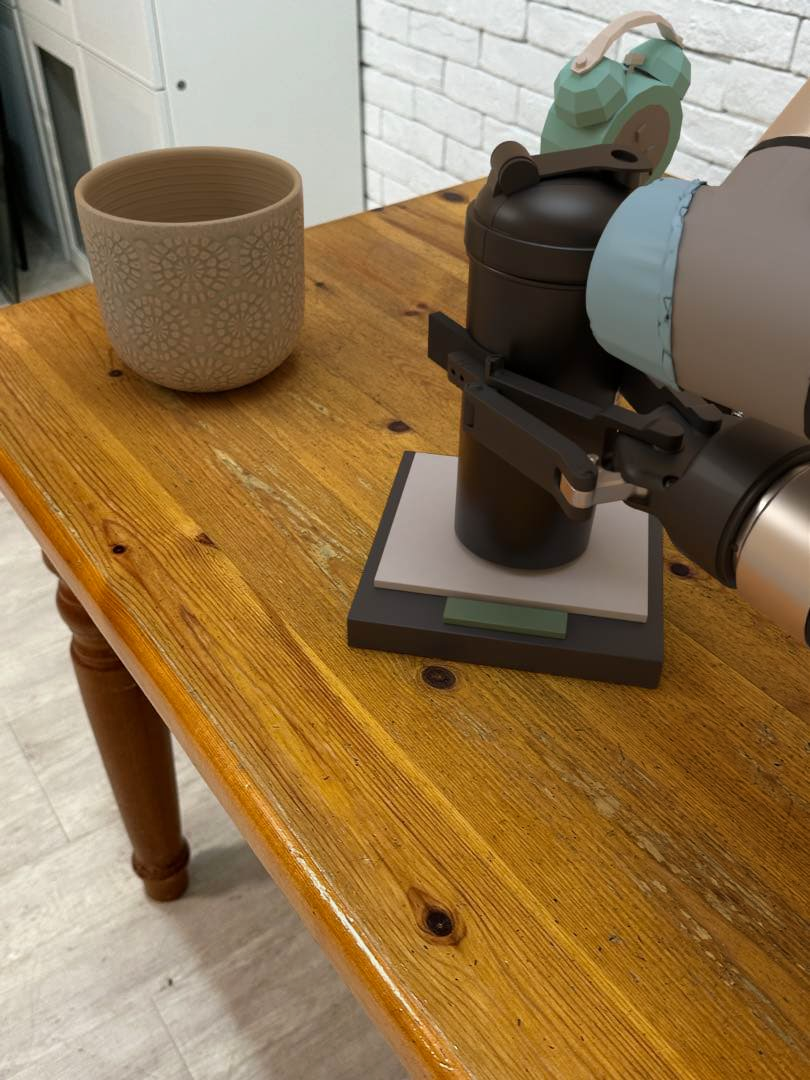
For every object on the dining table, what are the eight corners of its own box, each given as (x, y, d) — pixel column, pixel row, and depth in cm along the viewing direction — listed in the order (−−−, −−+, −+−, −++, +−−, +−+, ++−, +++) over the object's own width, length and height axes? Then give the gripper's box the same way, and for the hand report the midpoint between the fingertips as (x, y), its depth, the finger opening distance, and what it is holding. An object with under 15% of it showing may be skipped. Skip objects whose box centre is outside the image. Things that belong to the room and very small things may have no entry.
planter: (304, 416, 82) (293, 225, 72) (87, 415, 81) (47, 224, 72) (317, 318, 95) (309, 145, 85) (130, 317, 95) (101, 144, 85)
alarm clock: (621, 176, 125) (647, -10, 113) (684, 199, 119) (719, 6, 107) (517, 209, 116) (533, 12, 104) (580, 236, 111) (605, 30, 98)
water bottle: (620, 578, 62) (703, 184, 49) (448, 578, 61) (485, 177, 48) (584, 487, 70) (646, 128, 57) (433, 486, 69) (460, 122, 56)
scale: (657, 504, 73) (663, 471, 71) (657, 689, 59) (665, 654, 57) (404, 475, 75) (404, 442, 74) (347, 646, 62) (346, 610, 60)
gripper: (614, 666, 44) (341, 419, 59) (899, 525, 52) (594, 340, 68) (641, 525, 40) (338, 297, 55) (949, 394, 48) (610, 227, 63)
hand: (480, 321), depth 61 cm, fingers closed on water bottle, 6 cm apart
